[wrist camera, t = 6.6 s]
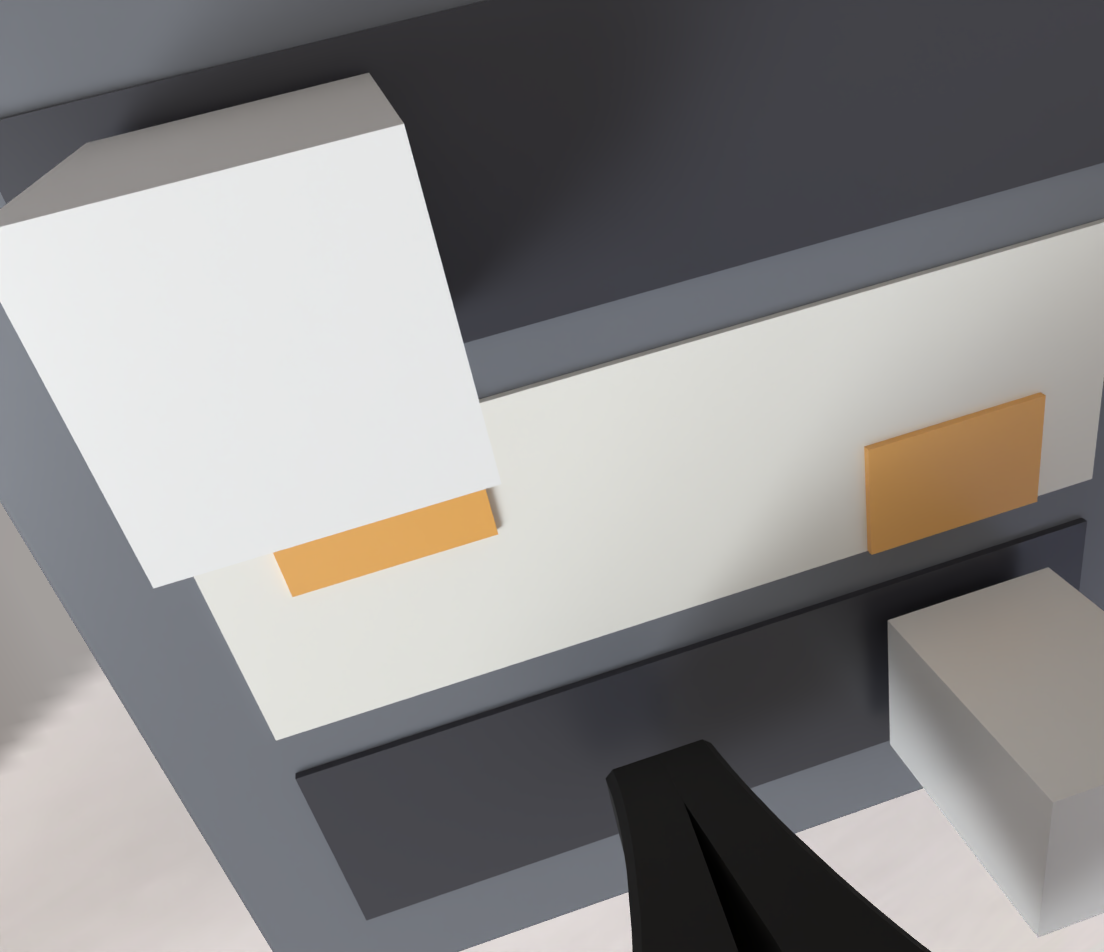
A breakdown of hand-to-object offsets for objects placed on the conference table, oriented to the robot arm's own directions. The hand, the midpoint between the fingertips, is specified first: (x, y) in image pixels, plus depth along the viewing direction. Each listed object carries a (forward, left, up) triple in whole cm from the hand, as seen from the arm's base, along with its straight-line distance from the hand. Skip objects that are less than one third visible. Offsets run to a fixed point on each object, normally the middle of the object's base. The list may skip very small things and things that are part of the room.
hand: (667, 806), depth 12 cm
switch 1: (+2, -8, -1) cm, 8 cm away
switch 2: (-5, 0, -1) cm, 5 cm away
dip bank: (-1, -4, -3) cm, 5 cm away
